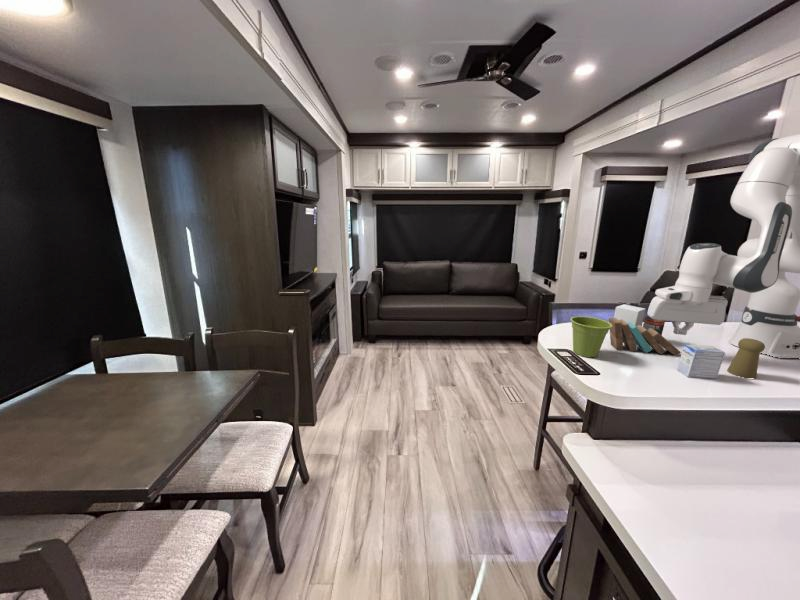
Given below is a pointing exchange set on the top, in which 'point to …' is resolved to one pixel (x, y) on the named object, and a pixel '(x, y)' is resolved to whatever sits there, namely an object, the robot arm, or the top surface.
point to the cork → (746, 358)
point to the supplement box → (630, 314)
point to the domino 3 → (639, 338)
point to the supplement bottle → (654, 324)
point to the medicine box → (700, 361)
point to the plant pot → (588, 335)
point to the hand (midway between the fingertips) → (679, 334)
